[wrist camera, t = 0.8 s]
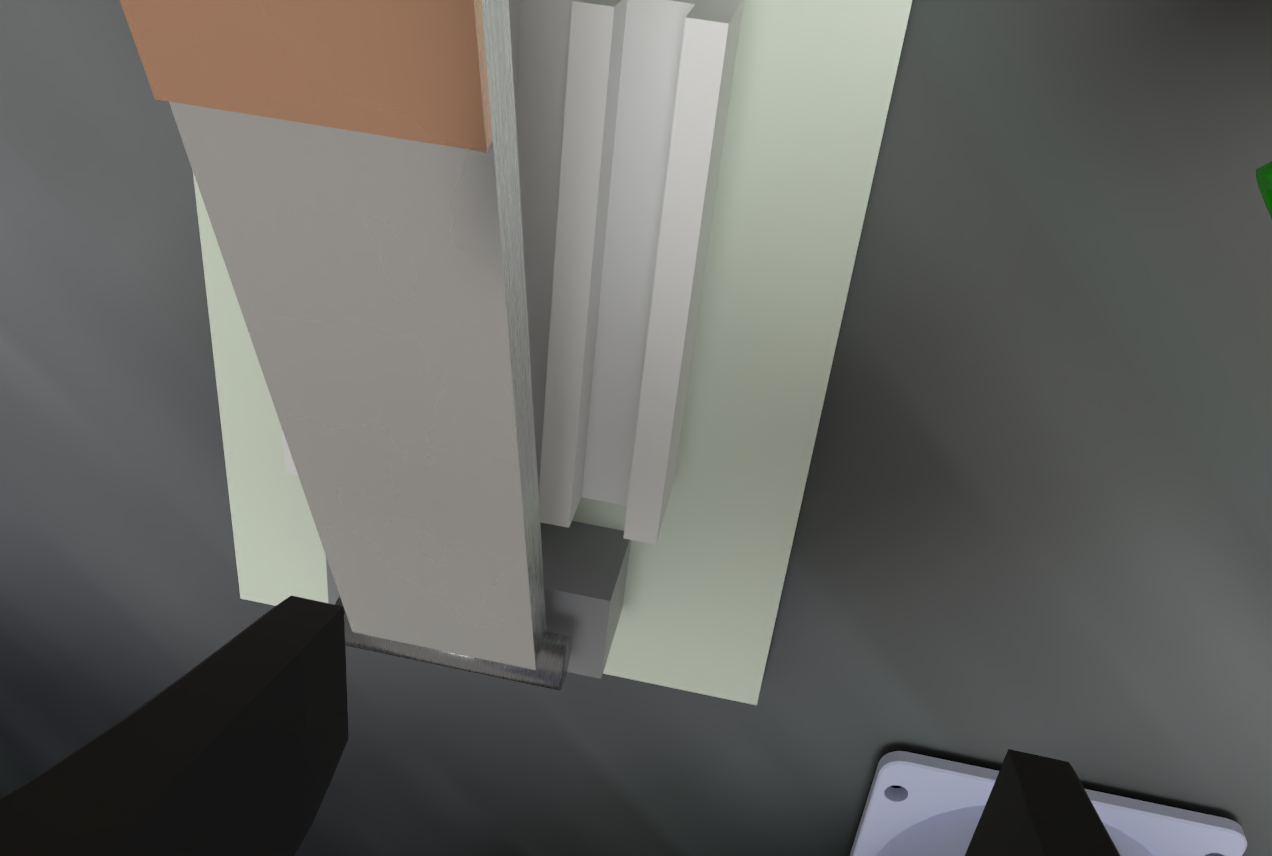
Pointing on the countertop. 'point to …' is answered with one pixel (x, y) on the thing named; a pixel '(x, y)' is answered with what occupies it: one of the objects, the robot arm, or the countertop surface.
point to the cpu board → (646, 319)
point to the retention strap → (381, 297)
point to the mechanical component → (1265, 184)
